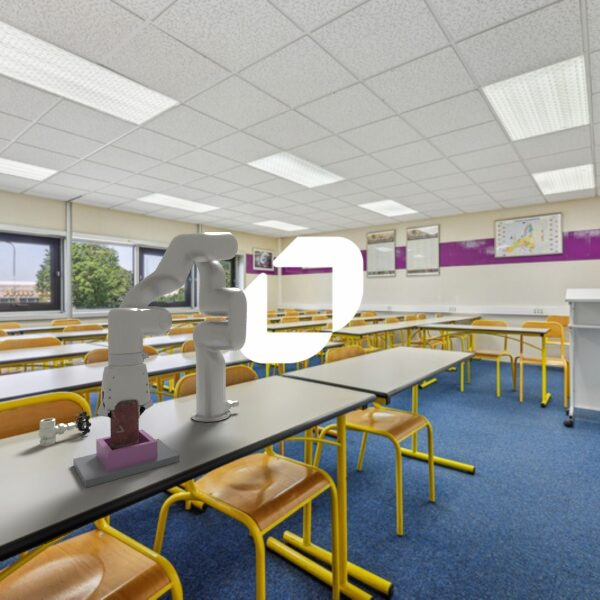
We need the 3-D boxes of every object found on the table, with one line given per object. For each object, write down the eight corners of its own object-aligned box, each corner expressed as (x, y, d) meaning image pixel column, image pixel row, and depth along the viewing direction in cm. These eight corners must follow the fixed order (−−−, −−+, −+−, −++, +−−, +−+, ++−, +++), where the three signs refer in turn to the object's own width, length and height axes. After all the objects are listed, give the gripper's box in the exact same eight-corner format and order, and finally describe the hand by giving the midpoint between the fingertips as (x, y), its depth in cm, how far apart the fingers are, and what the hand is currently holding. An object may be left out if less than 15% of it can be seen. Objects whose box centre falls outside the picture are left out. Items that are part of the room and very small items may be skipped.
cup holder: (158, 444, 104) (158, 423, 104) (179, 461, 93) (178, 438, 93) (73, 465, 91) (73, 442, 91) (85, 487, 80) (85, 461, 80)
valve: (43, 449, 101) (91, 436, 110) (43, 424, 101) (91, 413, 110) (34, 443, 105) (81, 431, 114) (34, 419, 105) (81, 409, 114)
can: (136, 462, 89) (135, 401, 89) (107, 464, 88) (106, 403, 88) (142, 452, 95) (142, 395, 95) (115, 453, 94) (114, 396, 94)
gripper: (154, 354, 100) (154, 425, 100) (85, 361, 90) (85, 440, 90) (165, 358, 94) (165, 433, 94) (92, 365, 84) (92, 450, 84)
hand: (126, 436), depth 92 cm, fingers closed
